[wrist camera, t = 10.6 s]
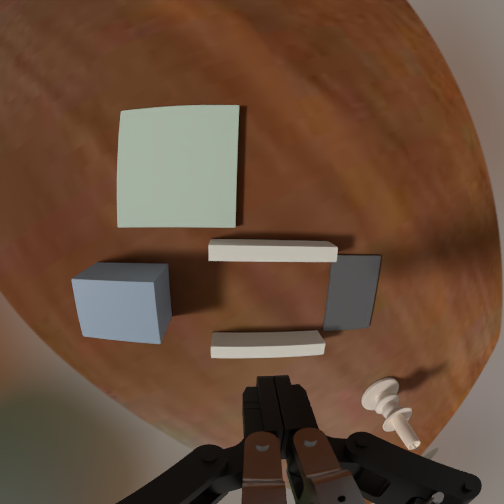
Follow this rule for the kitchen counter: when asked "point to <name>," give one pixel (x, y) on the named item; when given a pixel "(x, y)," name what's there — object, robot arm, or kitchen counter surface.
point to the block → (124, 301)
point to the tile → (178, 166)
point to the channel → (337, 306)
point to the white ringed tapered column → (391, 409)
